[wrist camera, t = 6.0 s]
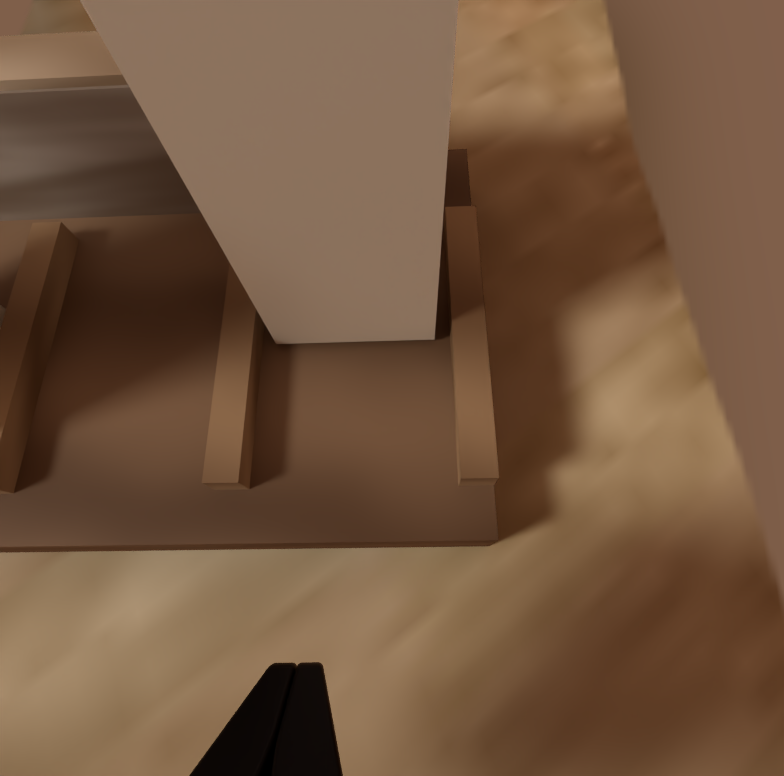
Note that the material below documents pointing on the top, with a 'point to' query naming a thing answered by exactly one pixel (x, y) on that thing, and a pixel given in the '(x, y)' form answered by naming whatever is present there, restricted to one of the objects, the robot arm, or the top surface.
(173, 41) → the orange-topped pillar
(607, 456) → the top surface
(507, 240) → the top surface
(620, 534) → the top surface
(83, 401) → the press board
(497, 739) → the top surface
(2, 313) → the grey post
